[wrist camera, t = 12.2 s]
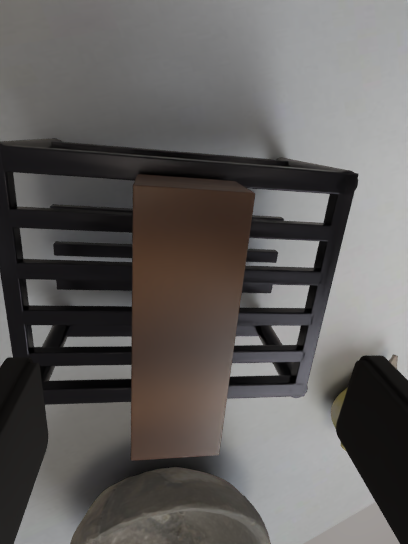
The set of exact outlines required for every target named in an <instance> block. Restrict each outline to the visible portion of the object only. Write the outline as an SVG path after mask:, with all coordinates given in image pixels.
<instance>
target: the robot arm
mask: <svg viewBox="0 0 408 544" xmlns="http://www.w3.org/2000/svg"><path fill="white" fill-rule="evenodd" d="M336 432H337V435H338V437H339V439H340V441H341V443H342V444H343V446H344V448H345V449H346V451H347V453H348V455H349V456H350V458H351V460H352V462H353V463H354V465H355V467H356V468H357V470H358V472H359V474H360V475H361V477H362V479H363V480H364V482H365V484H366V486H367V487H368V489H369V491H370V493H371V494H372V496H373V498H374V499H375V501H376V503H377V504H378V506H379V508H380V510H381V511H382V513H383V515H384V517H385V518H386V520H387V522H388V524H389V525H390V527H391V529H392V530H393V532H394V534H395V536H396V537H397V539H398V541H399V542H400V544H408V380H407V379H406V378H405V377H404V376H403V375H402V374H401V373H400V372H399V371H398V370H397V369H396V368H395V367H394V366H393V365H392V364H391V363H390V362H389V361H388V360H387V359H386V358H385V357H383V356H362V357H361V358H360V360H359V361H357V362H356V364H355V366H354V369H353V372H352V376H351V379H350V382H349V385H348V388H347V391H346V395H345V398H344V401H343V404H342V407H341V410H340V414H339V417H338V420H337V423H336ZM47 444H48V429H47V420H46V412H45V404H44V396H43V388H42V379H41V371H40V365H39V363H33V360H32V358H30V357H16V358H7V359H6V360H5V361H4V362H3V364H2V365H1V367H0V544H14V541H15V538H16V535H17V532H18V530H19V527H20V524H21V521H22V518H23V515H24V512H25V509H26V507H27V504H28V501H29V498H30V495H31V492H32V489H33V486H34V483H35V481H36V478H37V475H38V472H39V469H40V466H41V463H42V460H43V458H44V455H45V452H46V449H47Z"/></svg>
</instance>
